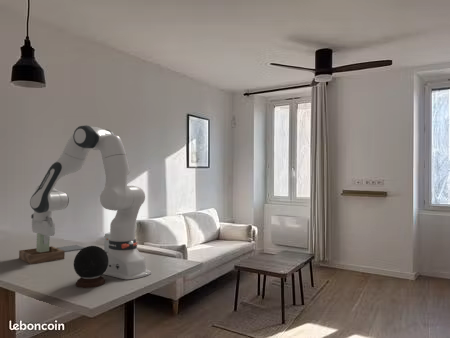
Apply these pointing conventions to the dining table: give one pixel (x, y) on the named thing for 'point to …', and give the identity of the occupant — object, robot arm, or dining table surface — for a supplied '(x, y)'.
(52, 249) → the walnut crate
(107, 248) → the small box
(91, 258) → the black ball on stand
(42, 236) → the green block
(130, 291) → the dining table surface
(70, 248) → the rubber mat
